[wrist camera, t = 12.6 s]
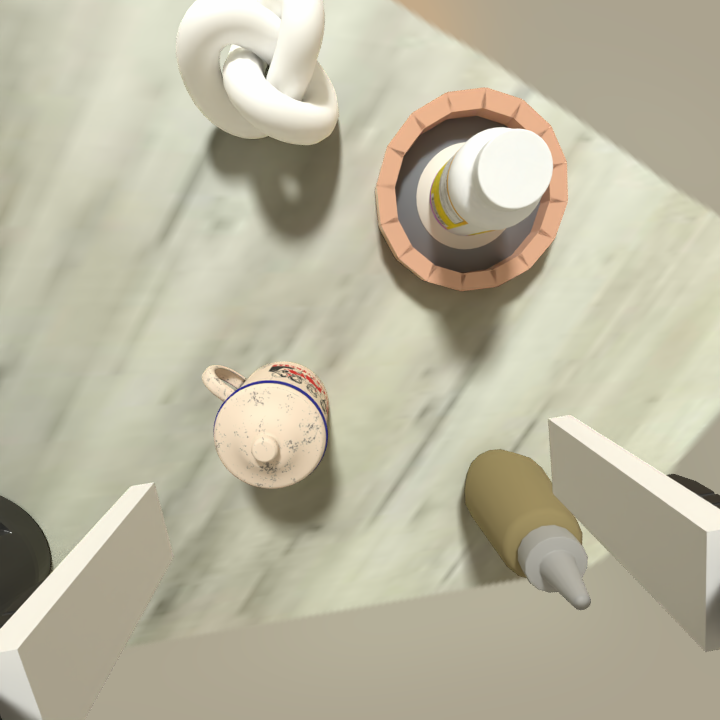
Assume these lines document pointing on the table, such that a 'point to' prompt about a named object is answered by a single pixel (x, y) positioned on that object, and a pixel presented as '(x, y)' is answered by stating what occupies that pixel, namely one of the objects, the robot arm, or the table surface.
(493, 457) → the squeeze bottle
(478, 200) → the supplement bottle
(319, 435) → the teacup with lid
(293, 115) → the white decorative knot
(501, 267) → the saucer tray
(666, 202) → the table surface
